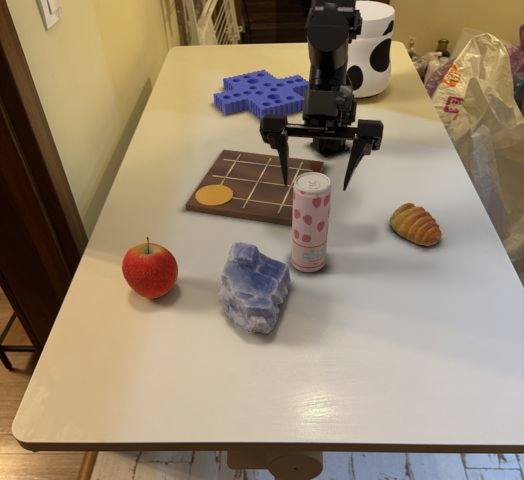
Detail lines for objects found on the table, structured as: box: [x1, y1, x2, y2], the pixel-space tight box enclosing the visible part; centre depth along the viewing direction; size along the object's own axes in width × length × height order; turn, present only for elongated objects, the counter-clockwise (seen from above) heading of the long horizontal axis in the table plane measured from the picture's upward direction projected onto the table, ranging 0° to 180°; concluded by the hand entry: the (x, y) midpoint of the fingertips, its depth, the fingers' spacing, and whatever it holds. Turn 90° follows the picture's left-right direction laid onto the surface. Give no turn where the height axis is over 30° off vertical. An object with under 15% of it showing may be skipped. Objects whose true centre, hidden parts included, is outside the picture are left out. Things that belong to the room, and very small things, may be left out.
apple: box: [121, 236, 179, 299], centre depth 79 cm, size 8×8×10 cm
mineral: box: [217, 241, 292, 334], centre depth 77 cm, size 14×10×10 cm
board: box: [184, 149, 325, 227], centre depth 102 cm, size 22×22×1 cm
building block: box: [212, 69, 309, 121], centre depth 130 cm, size 25×24×3 cm
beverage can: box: [290, 172, 332, 273], centre depth 81 cm, size 6×6×15 cm
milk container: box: [347, 0, 396, 101], centre depth 126 cm, size 17×17×18 cm
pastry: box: [389, 202, 443, 247], centre depth 90 cm, size 9×7×4 cm
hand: (314, 188), depth 81 cm, fingers open, 9 cm apart
